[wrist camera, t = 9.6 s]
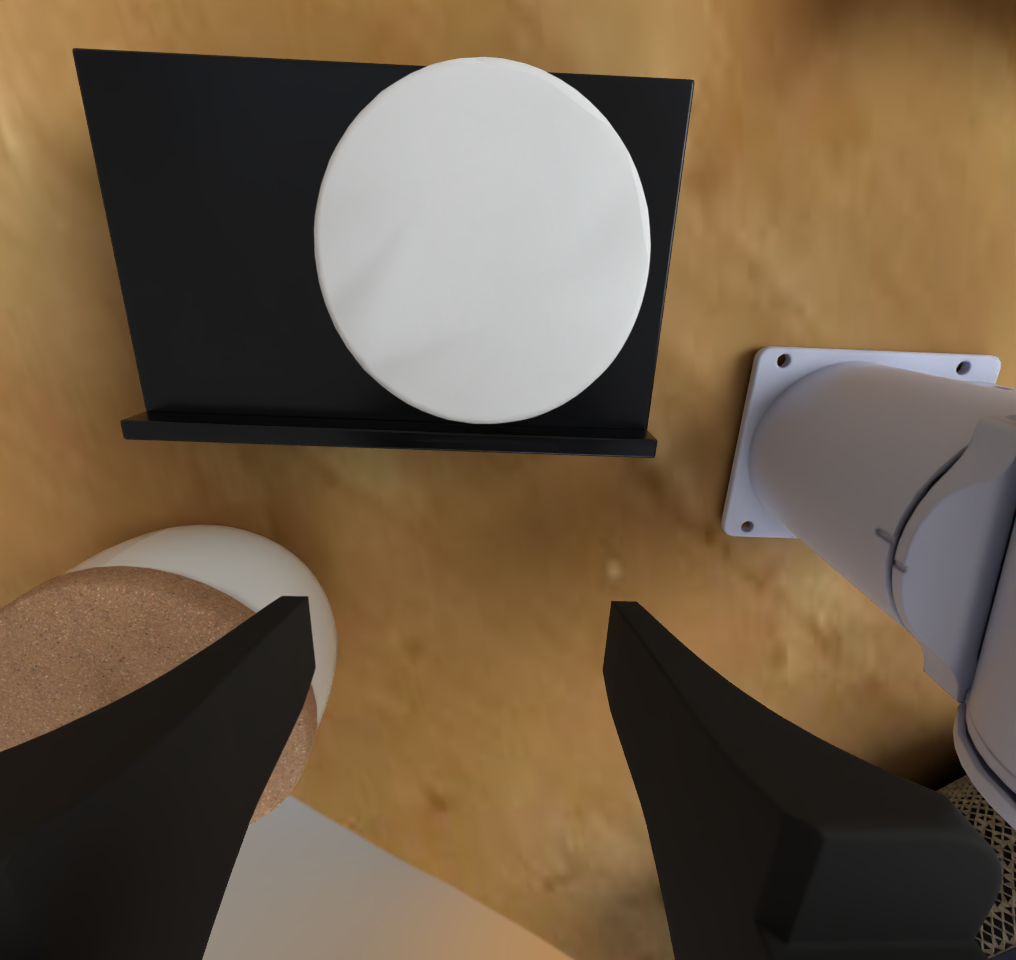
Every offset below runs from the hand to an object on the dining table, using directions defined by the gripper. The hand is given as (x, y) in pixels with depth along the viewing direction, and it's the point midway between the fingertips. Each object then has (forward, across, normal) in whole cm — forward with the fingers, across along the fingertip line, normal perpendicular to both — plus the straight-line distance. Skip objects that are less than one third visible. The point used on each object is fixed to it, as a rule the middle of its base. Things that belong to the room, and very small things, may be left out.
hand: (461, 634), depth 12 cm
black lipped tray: (+10, +2, -8) cm, 13 cm away
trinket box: (+11, +10, +6) cm, 16 cm away
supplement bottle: (+6, -1, -8) cm, 10 cm away
